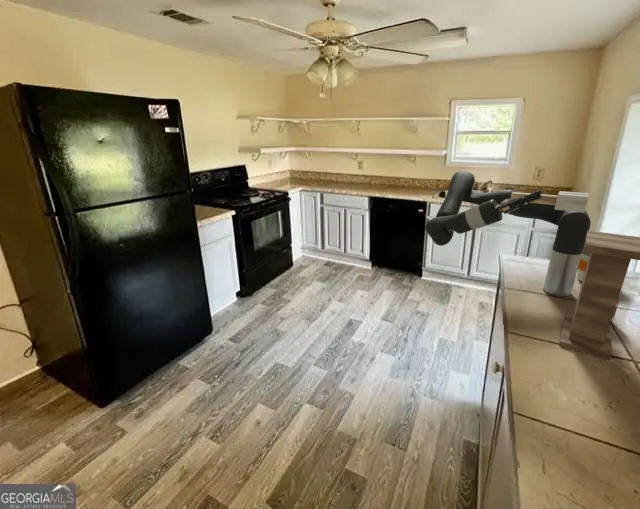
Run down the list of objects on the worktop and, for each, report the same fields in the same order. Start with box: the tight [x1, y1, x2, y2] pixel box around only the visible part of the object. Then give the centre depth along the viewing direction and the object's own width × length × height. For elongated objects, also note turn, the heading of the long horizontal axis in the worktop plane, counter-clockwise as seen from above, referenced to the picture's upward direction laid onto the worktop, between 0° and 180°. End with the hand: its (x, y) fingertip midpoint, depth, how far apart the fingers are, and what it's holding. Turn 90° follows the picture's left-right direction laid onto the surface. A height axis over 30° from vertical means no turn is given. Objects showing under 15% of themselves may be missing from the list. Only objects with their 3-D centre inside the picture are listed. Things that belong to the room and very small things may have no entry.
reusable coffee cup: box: [576, 246, 590, 282], centre depth 141 cm, size 13×13×15 cm
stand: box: [558, 230, 640, 361], centre depth 100 cm, size 18×12×32 cm, turn 142°
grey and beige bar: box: [510, 190, 590, 212], centre depth 101 cm, size 6×19×4 cm, turn 52°
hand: (540, 193), depth 101 cm, fingers closed on grey and beige bar, 2 cm apart
